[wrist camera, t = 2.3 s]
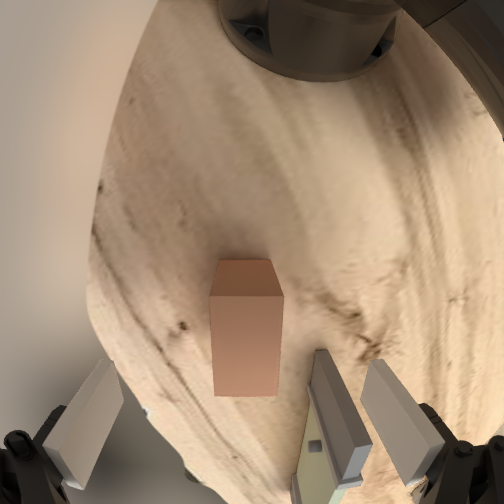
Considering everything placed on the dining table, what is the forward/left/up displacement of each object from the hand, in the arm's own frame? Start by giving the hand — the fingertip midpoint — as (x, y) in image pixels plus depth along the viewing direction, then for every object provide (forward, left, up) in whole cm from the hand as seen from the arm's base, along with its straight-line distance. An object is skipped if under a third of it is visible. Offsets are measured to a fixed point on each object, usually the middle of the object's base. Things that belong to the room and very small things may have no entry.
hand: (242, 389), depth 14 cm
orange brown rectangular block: (0, 0, -11) cm, 11 cm away
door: (+17, +7, -11) cm, 21 cm away
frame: (+17, +7, -11) cm, 22 cm away
